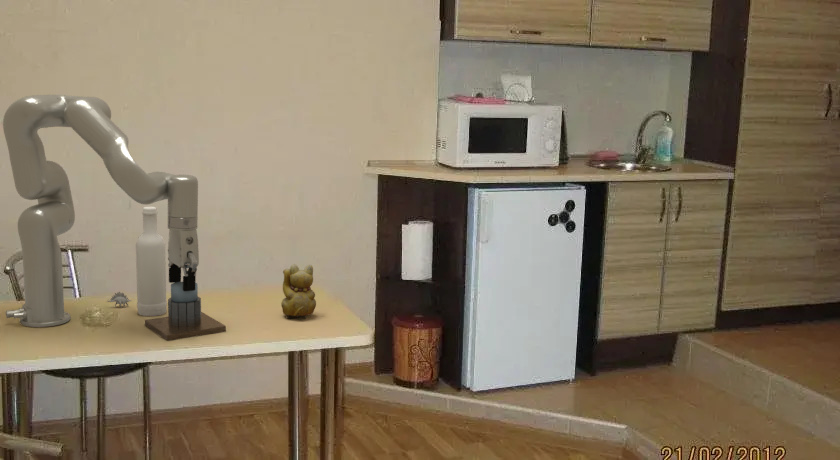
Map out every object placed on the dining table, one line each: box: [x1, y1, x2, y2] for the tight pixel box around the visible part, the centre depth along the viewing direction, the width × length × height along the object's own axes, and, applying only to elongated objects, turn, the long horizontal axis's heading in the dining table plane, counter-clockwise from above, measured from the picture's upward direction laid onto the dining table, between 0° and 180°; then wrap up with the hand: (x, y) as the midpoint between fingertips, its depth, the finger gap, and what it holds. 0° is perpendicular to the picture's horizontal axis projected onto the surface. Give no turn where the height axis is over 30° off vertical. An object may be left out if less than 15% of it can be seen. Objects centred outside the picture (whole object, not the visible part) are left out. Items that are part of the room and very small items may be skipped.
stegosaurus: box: [106, 291, 132, 309], centre depth 249 cm, size 2×7×5 cm, turn 115°
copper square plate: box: [144, 296, 227, 342], centre depth 231 cm, size 16×16×8 cm
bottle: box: [135, 206, 168, 317], centre depth 242 cm, size 8×8×30 cm
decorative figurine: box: [281, 263, 317, 320], centre depth 244 cm, size 10×8×15 cm
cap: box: [170, 281, 199, 303], centre depth 230 cm, size 7×7×8 cm
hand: (181, 286), depth 229 cm, fingers open, 9 cm apart
